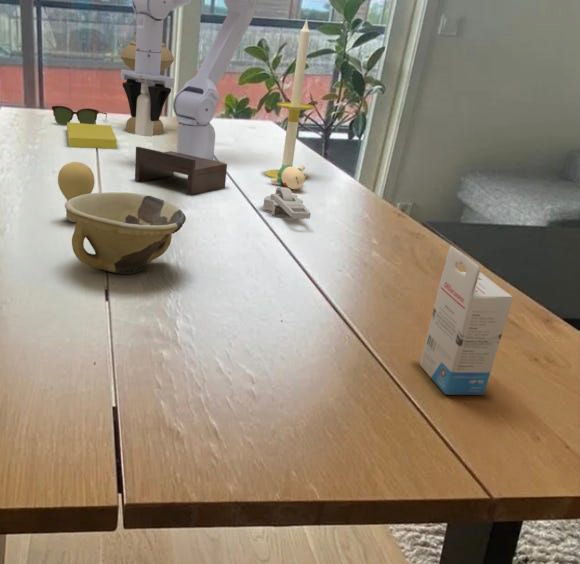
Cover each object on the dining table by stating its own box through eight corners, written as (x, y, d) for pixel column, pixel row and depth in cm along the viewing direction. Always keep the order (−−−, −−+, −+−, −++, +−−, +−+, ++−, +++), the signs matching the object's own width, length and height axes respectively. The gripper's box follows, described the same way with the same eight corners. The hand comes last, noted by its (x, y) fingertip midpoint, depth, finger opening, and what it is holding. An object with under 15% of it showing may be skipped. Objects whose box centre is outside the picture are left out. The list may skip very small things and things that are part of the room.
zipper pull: (279, 229, 142) (282, 206, 140) (258, 205, 157) (261, 183, 155) (320, 231, 143) (323, 207, 141) (296, 206, 158) (299, 184, 156)
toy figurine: (270, 190, 179) (283, 199, 168) (264, 171, 176) (277, 179, 166) (303, 175, 178) (318, 183, 168) (297, 156, 176) (312, 163, 165)
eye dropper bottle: (154, 133, 181) (157, 76, 174) (151, 137, 176) (155, 78, 169) (135, 132, 181) (138, 74, 174) (133, 135, 176) (136, 76, 170)
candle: (259, 176, 181) (278, 16, 163) (271, 169, 189) (290, 15, 171) (300, 182, 178) (324, 20, 160) (311, 174, 186) (334, 19, 168)
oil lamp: (117, 125, 229) (120, -36, 207) (167, 128, 231) (175, -31, 209) (120, 134, 216) (123, -36, 194) (172, 137, 218) (181, -31, 196)
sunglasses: (50, 123, 224) (50, 105, 222) (65, 121, 237) (65, 103, 235) (98, 128, 223) (99, 109, 220) (110, 125, 236) (111, 107, 233)
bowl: (93, 294, 108) (93, 225, 103) (49, 255, 121) (47, 192, 116) (202, 281, 115) (207, 216, 110) (150, 247, 128) (152, 187, 123)
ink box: (485, 396, 88) (525, 269, 79) (443, 396, 87) (479, 267, 79) (456, 365, 95) (490, 245, 87) (417, 364, 94) (448, 243, 86)
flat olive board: (116, 148, 199) (110, 132, 219) (116, 139, 198) (110, 124, 217) (69, 146, 197) (67, 130, 217) (69, 137, 196) (66, 122, 216)
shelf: (169, 174, 177) (171, 141, 173) (225, 187, 169) (228, 153, 165) (134, 180, 169) (135, 146, 165) (190, 195, 161) (193, 159, 157)
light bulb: (100, 220, 140) (101, 162, 135) (82, 227, 135) (82, 167, 130) (70, 214, 142) (69, 157, 137) (52, 221, 137) (50, 162, 132)
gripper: (112, 47, 170) (110, 114, 178) (161, 54, 163) (156, 124, 170) (134, 48, 175) (130, 113, 182) (182, 55, 168) (177, 123, 175)
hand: (144, 118), depth 176 cm, fingers closed on eye dropper bottle, 5 cm apart
